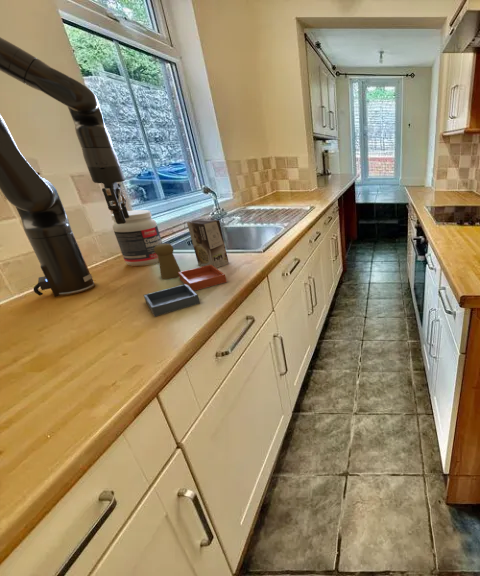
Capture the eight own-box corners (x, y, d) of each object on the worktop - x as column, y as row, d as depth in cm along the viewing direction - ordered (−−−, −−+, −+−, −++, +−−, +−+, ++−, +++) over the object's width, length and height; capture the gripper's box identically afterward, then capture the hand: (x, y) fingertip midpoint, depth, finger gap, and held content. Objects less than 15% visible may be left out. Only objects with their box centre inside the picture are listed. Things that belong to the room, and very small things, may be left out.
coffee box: (229, 263, 118) (220, 220, 111) (214, 269, 113) (204, 223, 106) (212, 260, 121) (202, 217, 115) (197, 265, 116) (185, 221, 109)
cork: (175, 279, 104) (165, 247, 99) (157, 279, 104) (146, 247, 100) (186, 272, 110) (177, 241, 105) (168, 272, 110) (159, 241, 105)
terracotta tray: (191, 291, 95) (189, 283, 94) (179, 279, 104) (177, 272, 103) (226, 282, 102) (225, 274, 101) (212, 271, 110) (211, 264, 109)
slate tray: (154, 316, 81) (151, 307, 80) (146, 303, 88) (143, 294, 87) (200, 303, 88) (197, 294, 87) (188, 291, 95) (186, 283, 94)
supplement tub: (163, 264, 117) (148, 214, 109) (121, 269, 112) (102, 217, 105) (170, 254, 128) (156, 208, 120) (131, 258, 123) (114, 211, 116)
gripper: (92, 164, 95) (112, 218, 102) (80, 166, 84) (104, 227, 91) (123, 163, 99) (140, 215, 105) (116, 165, 88) (135, 223, 94)
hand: (123, 220), depth 98 cm, fingers open, 8 cm apart
